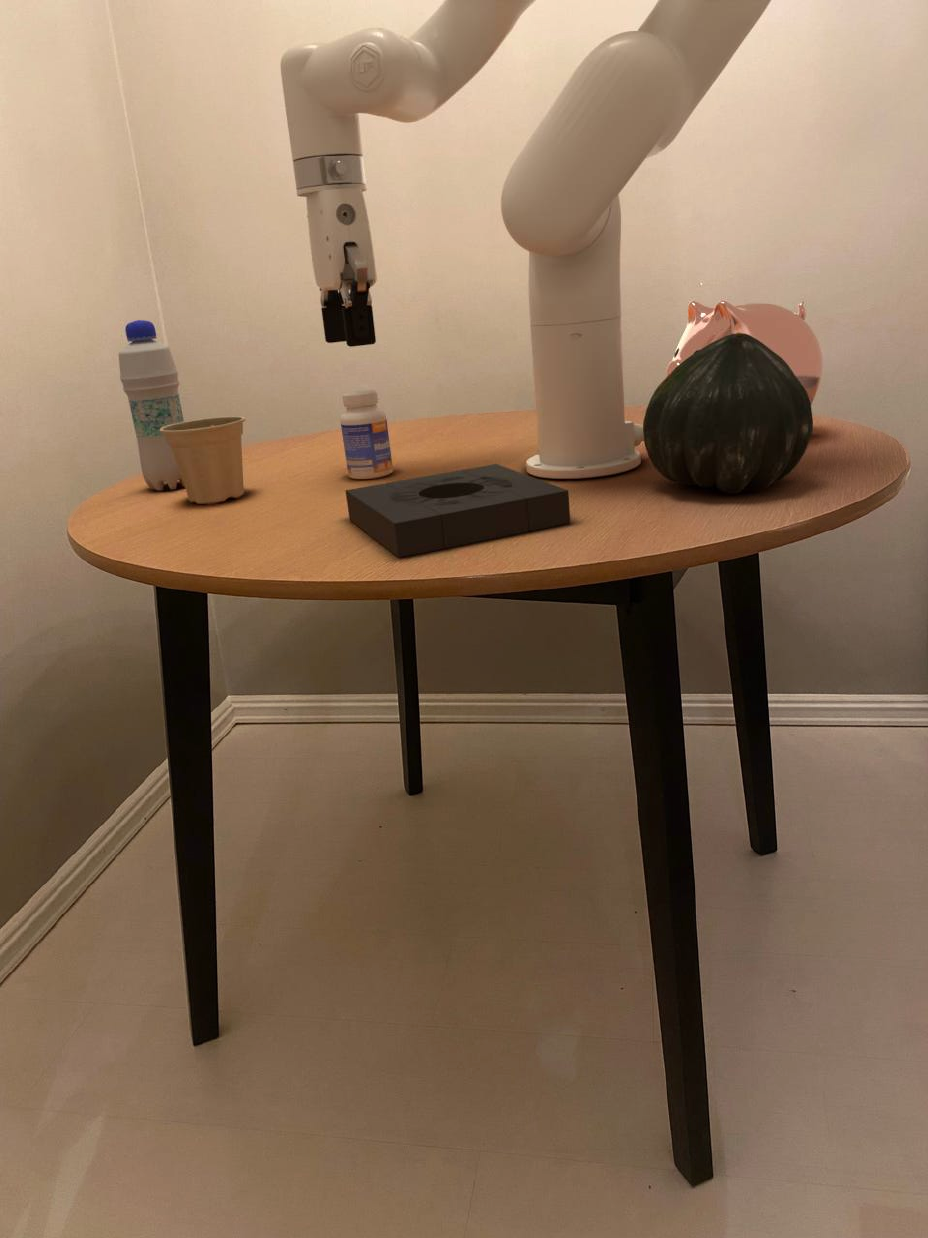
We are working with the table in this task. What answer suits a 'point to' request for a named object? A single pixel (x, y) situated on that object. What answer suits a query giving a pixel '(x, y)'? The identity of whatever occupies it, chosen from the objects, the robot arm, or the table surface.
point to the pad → (456, 508)
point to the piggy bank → (756, 335)
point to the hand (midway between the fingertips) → (350, 343)
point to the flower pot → (208, 457)
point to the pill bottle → (365, 436)
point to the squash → (729, 418)
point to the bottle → (151, 401)
